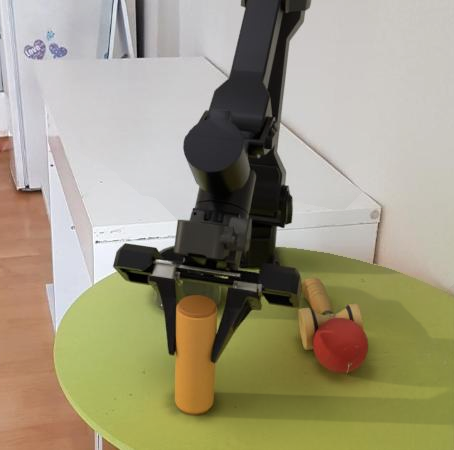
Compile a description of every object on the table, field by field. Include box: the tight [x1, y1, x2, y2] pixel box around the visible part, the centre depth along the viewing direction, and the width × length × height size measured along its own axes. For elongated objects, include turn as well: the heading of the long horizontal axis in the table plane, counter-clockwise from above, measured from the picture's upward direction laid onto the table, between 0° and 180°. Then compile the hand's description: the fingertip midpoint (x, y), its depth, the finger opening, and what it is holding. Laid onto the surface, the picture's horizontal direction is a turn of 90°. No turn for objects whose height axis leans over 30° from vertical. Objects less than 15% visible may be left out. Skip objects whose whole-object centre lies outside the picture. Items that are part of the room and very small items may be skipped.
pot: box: [153, 245, 223, 311], centre depth 96 cm, size 9×9×6 cm
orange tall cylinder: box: [174, 295, 218, 416], centre depth 75 cm, size 4×4×12 cm
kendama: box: [297, 277, 369, 374], centre depth 89 cm, size 8×6×18 cm
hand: (191, 358), depth 74 cm, fingers closed on orange tall cylinder, 4 cm apart
